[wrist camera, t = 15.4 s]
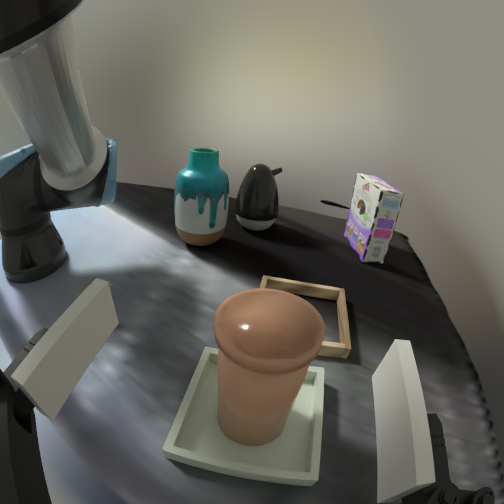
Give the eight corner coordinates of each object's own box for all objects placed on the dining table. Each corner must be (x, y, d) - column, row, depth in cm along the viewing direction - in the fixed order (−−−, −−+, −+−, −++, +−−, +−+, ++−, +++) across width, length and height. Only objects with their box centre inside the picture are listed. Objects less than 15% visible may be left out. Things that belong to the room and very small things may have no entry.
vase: (224, 256, 55) (232, 157, 46) (170, 252, 54) (170, 153, 45) (226, 231, 65) (233, 147, 55) (179, 228, 64) (181, 144, 54)
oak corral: (245, 342, 36) (247, 332, 35) (261, 285, 48) (263, 275, 47) (346, 358, 35) (351, 348, 34) (340, 298, 47) (344, 288, 46)
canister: (206, 439, 23) (199, 349, 16) (224, 382, 30) (229, 281, 23) (283, 454, 22) (325, 372, 15) (291, 394, 29) (324, 297, 22)
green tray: (166, 457, 21) (162, 449, 20) (205, 359, 33) (205, 346, 32) (310, 486, 19) (318, 480, 18) (318, 380, 32) (324, 367, 30)
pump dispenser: (284, 233, 67) (293, 170, 59) (242, 237, 63) (248, 169, 55) (266, 216, 75) (272, 159, 67) (227, 219, 71) (232, 159, 64)
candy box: (384, 264, 58) (405, 194, 50) (361, 263, 58) (381, 189, 50) (362, 236, 70) (377, 175, 62) (342, 234, 70) (356, 171, 62)
